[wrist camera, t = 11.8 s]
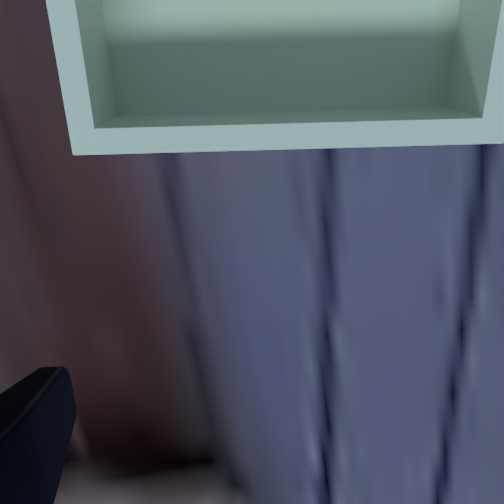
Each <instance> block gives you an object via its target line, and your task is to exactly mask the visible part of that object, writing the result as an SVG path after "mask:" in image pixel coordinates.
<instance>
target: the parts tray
mask: <svg viewBox="0 0 504 504" xmlns="http://www.w3.org/2000/svg"><path fill="white" fill-rule="evenodd" d="M46 4H47V10H48V16H49V21H50V27H51V33H52V39H53V44H54V50H55V56H56V62H57V67H58V73H59V79H60V85H61V90H62V96H63V102H64V107H65V113H66V119H67V125H68V130H69V136H70V142H71V148H72V153H73V155H100V154H137V153H173V152H210V151H246V150H283V149H319V148H355V147H392V146H428V145H465V144H501V143H503V142H504V0H46Z"/></svg>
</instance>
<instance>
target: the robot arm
mask: <svg viewBox="0 0 504 504" xmlns="http://www.w3.org/2000/svg"><path fill="white" fill-rule="evenodd" d="M75 419H76V402H75V397H74V393H73V388H72V384H71V379H70V375H69V372H68V370H67V369H66V368H65V367H63V366H58V367H41V368H39V369H37V370H36V371H34V372H33V373H31V374H30V375H28V376H27V377H25V378H24V379H22V380H21V381H19V382H18V383H16V384H15V385H13V386H12V387H10V388H9V389H7V390H6V391H4V392H3V393H1V394H0V504H54V500H55V497H56V493H57V489H58V486H59V482H60V478H61V474H62V470H63V466H64V462H65V458H66V454H67V451H68V447H69V443H70V439H71V435H72V431H73V427H74V423H75Z"/></svg>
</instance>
